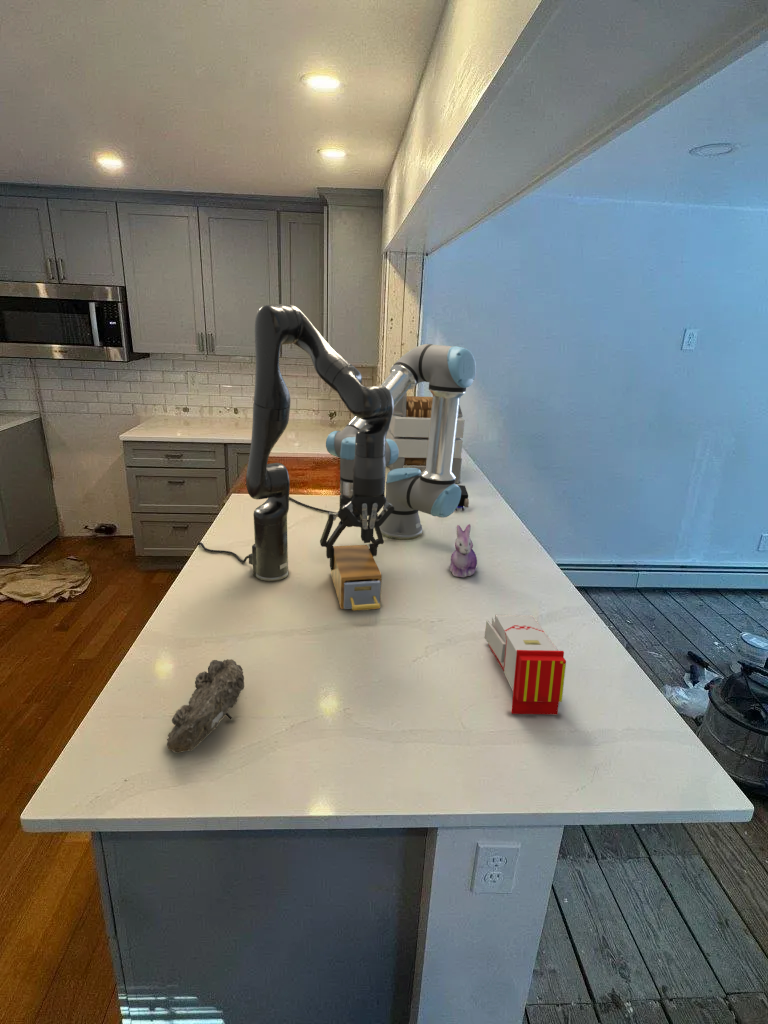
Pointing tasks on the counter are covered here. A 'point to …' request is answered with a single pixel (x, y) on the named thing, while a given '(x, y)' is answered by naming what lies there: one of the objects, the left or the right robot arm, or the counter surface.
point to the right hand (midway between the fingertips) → (351, 567)
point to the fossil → (206, 705)
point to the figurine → (463, 554)
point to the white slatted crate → (418, 433)
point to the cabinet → (353, 567)
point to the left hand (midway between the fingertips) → (366, 541)
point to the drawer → (362, 594)
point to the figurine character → (463, 498)
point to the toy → (527, 663)
